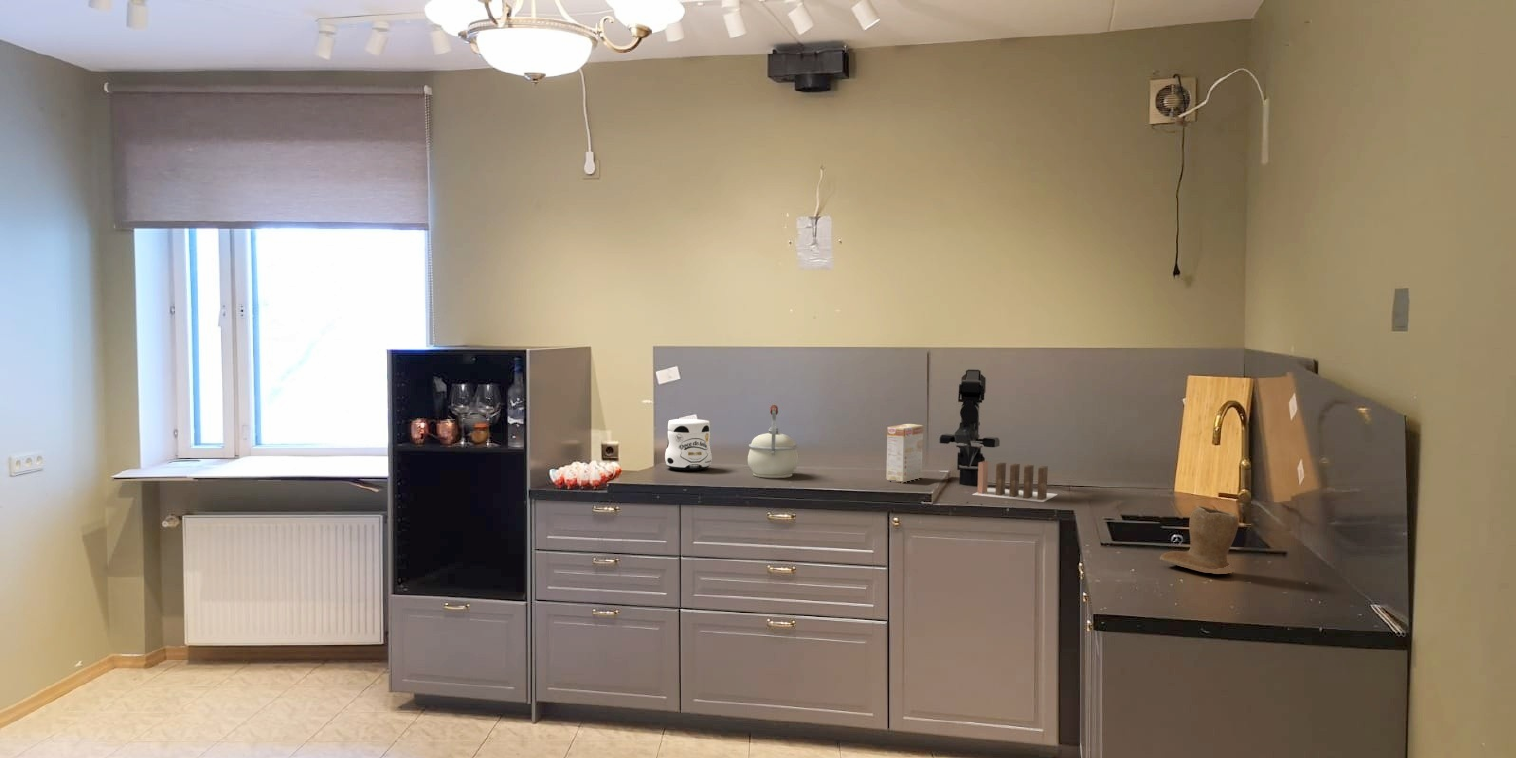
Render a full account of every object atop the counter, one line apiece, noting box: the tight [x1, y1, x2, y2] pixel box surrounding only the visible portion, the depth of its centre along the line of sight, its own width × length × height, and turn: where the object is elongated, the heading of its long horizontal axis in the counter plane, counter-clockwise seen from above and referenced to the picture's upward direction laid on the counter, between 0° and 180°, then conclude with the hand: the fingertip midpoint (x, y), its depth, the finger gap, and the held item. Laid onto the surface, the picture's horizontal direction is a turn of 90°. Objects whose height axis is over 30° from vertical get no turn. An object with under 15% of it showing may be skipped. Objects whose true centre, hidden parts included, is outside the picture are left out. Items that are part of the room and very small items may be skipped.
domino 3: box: [1009, 463, 1021, 497], centre depth 342 cm, size 2×5×10 cm, turn 150°
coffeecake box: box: [886, 423, 924, 481], centre depth 379 cm, size 15×7×20 cm, turn 144°
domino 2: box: [995, 462, 1007, 496], centre depth 344 cm, size 2×5×10 cm, turn 150°
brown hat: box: [1159, 505, 1239, 569], centre depth 247 cm, size 15×12×15 cm
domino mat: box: [971, 486, 1058, 503], centre depth 345 cm, size 23×18×1 cm
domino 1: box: [977, 460, 989, 494], centre depth 347 cm, size 2×5×10 cm, turn 150°
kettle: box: [747, 404, 799, 479], centre depth 385 cm, size 25×18×25 cm
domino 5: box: [1037, 465, 1049, 500], centre depth 337 cm, size 2×5×10 cm, turn 150°
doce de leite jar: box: [664, 418, 713, 471], centre depth 395 cm, size 17×17×18 cm
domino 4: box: [1022, 464, 1035, 498], centre depth 340 cm, size 2×5×10 cm, turn 150°
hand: (968, 466), depth 349 cm, fingers closed
